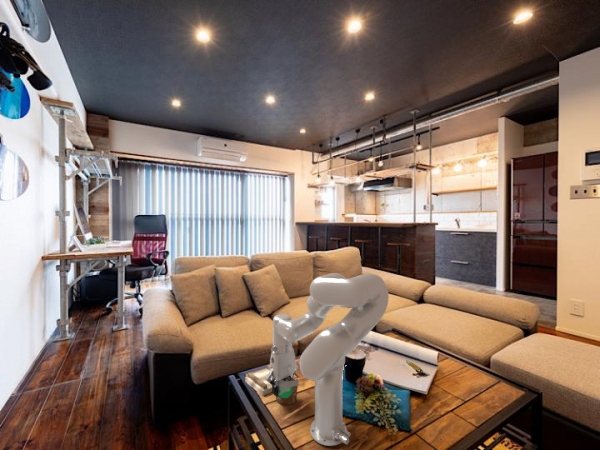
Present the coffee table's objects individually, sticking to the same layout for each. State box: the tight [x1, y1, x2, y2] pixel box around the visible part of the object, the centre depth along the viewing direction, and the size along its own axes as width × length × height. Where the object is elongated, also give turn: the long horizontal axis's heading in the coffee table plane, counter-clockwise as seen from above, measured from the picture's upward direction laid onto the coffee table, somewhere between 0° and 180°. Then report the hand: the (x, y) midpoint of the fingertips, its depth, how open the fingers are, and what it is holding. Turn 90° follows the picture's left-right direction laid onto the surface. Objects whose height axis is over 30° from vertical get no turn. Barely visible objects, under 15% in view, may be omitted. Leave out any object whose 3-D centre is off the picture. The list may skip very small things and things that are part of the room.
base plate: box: [244, 363, 273, 397], centre depth 124 cm, size 14×14×4 cm
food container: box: [274, 376, 300, 407], centre depth 110 cm, size 12×6×10 cm, turn 47°
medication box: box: [406, 359, 422, 371], centre depth 133 cm, size 12×3×4 cm, turn 23°
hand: (282, 391), depth 111 cm, fingers closed on food container, 6 cm apart
